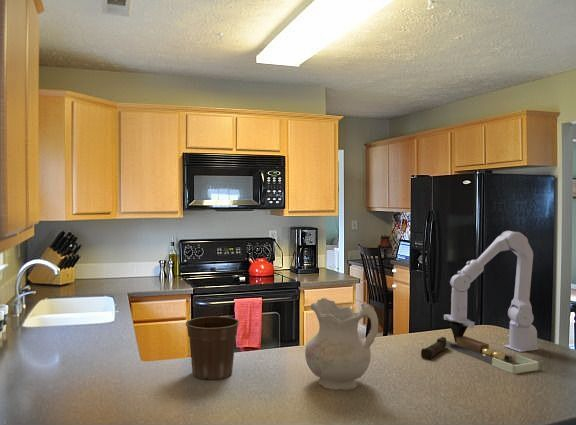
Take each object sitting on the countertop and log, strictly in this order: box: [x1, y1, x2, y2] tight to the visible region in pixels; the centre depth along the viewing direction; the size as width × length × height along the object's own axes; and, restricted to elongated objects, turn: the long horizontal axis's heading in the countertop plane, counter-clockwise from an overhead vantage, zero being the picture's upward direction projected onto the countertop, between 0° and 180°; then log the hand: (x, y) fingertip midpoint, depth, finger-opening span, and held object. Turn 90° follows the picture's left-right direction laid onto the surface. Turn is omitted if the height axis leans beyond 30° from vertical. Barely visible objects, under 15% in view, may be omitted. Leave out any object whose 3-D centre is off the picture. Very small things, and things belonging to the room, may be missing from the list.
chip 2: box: [492, 350, 506, 362], centre depth 179 cm, size 4×4×3 cm
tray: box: [491, 354, 540, 375], centre depth 172 cm, size 11×9×2 cm
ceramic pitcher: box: [304, 297, 379, 391], centre depth 153 cm, size 22×20×25 cm
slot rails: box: [446, 340, 513, 365], centre depth 188 cm, size 9×24×2 cm, turn 24°
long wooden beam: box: [455, 335, 490, 353], centre depth 190 cm, size 4×12×4 cm, turn 23°
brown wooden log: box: [420, 336, 447, 361], centre depth 186 cm, size 19×4×5 cm, turn 141°
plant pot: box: [185, 316, 240, 381], centre depth 159 cm, size 16×16×16 cm
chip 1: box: [482, 347, 495, 357], centre depth 182 cm, size 4×4×3 cm
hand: (458, 342), depth 196 cm, fingers closed
